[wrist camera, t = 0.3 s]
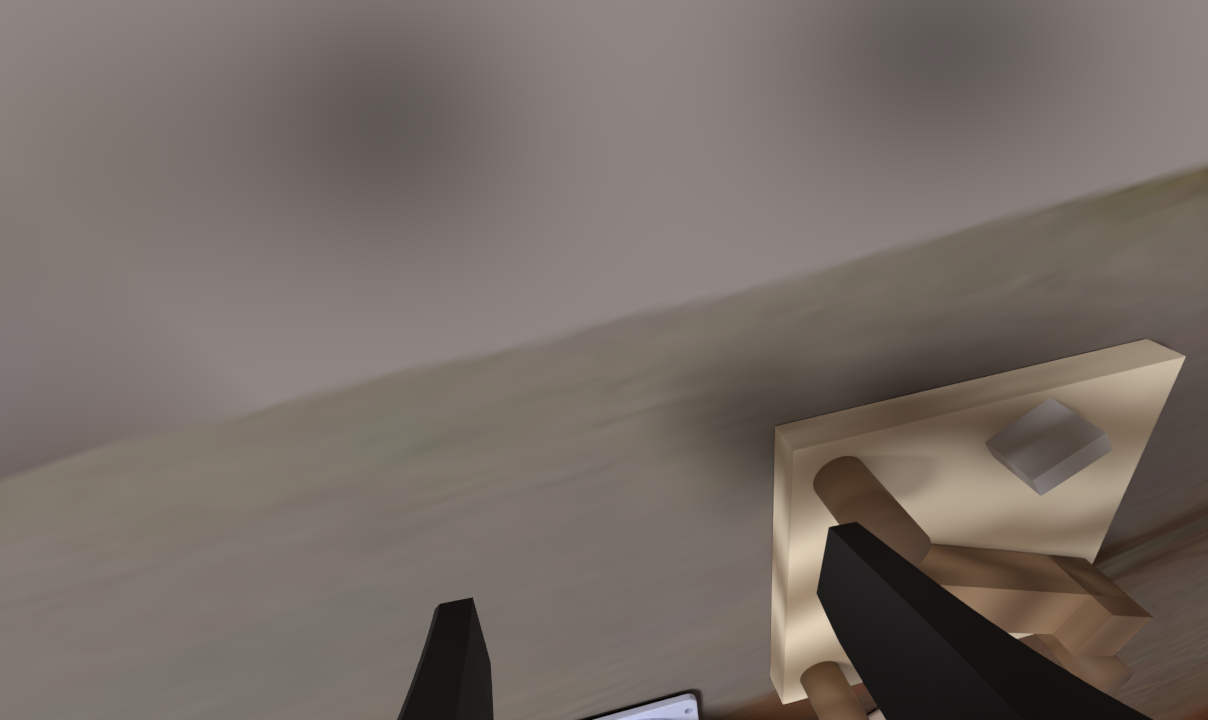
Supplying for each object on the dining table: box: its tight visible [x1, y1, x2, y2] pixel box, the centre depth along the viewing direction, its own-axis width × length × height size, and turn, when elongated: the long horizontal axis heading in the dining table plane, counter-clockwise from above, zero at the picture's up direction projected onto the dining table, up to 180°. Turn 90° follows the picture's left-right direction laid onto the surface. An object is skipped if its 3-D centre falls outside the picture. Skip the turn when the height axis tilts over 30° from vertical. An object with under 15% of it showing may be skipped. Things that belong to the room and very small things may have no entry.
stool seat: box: [770, 339, 1186, 720], centre depth 26 cm, size 18×17×6 cm
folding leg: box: [916, 544, 1153, 656], centre depth 26 cm, size 14×3×4 cm, turn 73°
